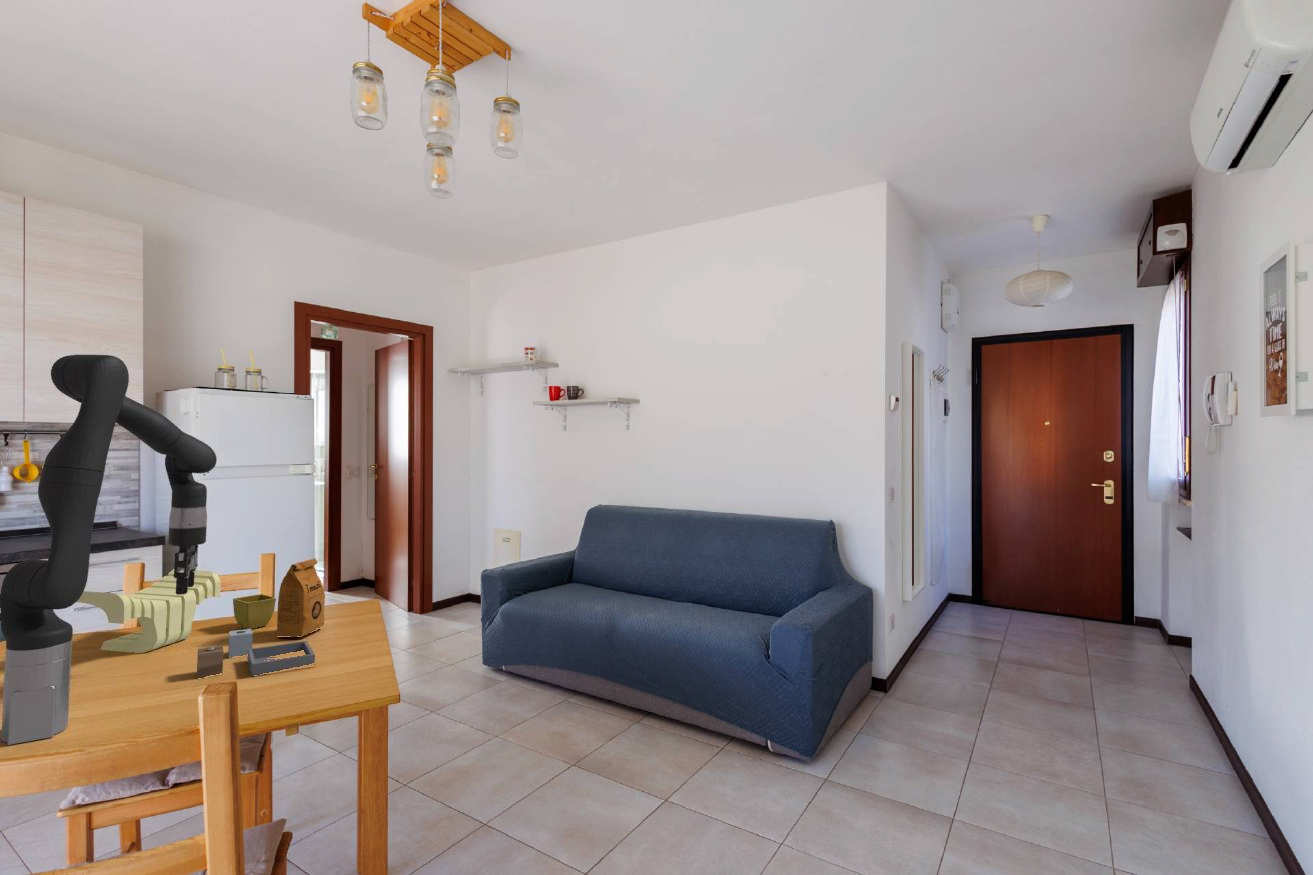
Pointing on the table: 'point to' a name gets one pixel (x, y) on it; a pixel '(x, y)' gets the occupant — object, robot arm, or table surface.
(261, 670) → the tray
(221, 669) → the walnut block
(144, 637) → the slatted curved stool
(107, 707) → the table surface
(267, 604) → the flower pot
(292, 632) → the coffee package
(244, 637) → the slate block
